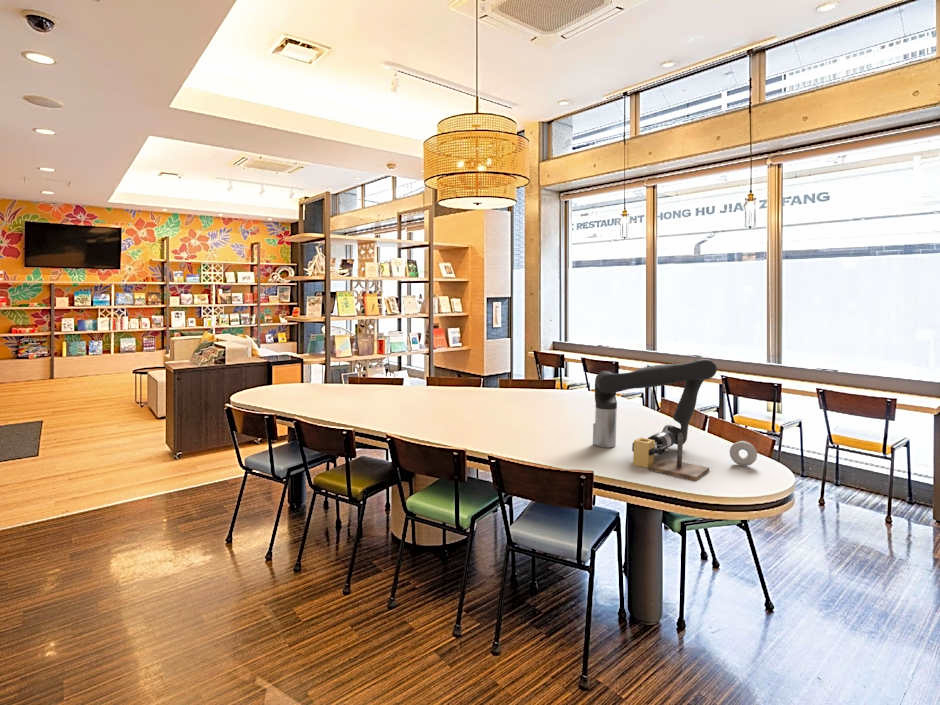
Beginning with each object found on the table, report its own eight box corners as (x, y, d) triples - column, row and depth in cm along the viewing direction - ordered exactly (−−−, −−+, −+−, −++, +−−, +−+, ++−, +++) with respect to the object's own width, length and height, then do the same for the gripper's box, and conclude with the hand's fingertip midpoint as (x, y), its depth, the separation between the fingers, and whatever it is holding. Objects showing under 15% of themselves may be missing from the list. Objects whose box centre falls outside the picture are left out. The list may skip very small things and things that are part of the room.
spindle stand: (648, 470, 217) (650, 432, 215) (663, 461, 227) (665, 425, 226) (695, 480, 205) (697, 441, 203) (709, 471, 215) (711, 433, 214)
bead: (633, 464, 223) (633, 440, 222) (639, 461, 228) (640, 437, 227) (647, 468, 219) (648, 443, 218) (653, 464, 224) (654, 440, 223)
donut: (757, 467, 221) (758, 442, 220) (755, 469, 218) (757, 444, 217) (729, 462, 227) (731, 438, 226) (727, 464, 224) (729, 440, 223)
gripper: (642, 430, 238) (624, 438, 225) (676, 436, 228) (659, 445, 216) (642, 448, 239) (624, 456, 226) (675, 454, 229) (658, 464, 217)
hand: (641, 451), depth 221 cm, fingers closed on bead, 6 cm apart
